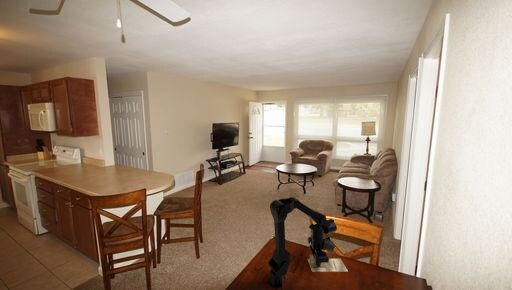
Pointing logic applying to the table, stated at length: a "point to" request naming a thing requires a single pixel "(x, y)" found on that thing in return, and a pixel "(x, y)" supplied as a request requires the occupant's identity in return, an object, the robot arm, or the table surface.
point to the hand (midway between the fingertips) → (317, 263)
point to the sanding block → (313, 262)
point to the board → (331, 266)
